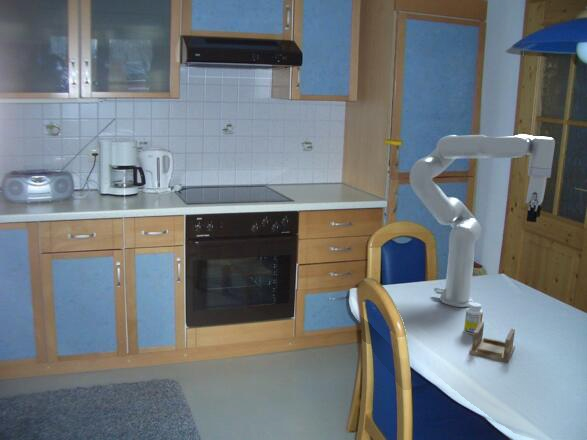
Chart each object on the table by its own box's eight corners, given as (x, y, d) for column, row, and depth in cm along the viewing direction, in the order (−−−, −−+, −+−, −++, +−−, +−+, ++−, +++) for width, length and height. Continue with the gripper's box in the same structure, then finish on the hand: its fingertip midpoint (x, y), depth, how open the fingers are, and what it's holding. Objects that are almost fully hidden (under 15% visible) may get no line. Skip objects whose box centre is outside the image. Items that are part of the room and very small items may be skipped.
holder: (469, 353, 203) (471, 332, 201) (477, 340, 213) (479, 320, 212) (508, 362, 198) (510, 341, 196) (514, 348, 208) (517, 328, 206)
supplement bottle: (474, 328, 223) (477, 300, 221) (483, 334, 218) (487, 306, 216) (460, 329, 222) (463, 302, 219) (469, 336, 217) (473, 307, 214)
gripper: (531, 168, 235) (525, 213, 239) (524, 173, 220) (518, 222, 224) (553, 170, 231) (547, 216, 235) (547, 176, 216) (541, 225, 220)
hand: (533, 219), depth 229 cm, fingers open, 9 cm apart
